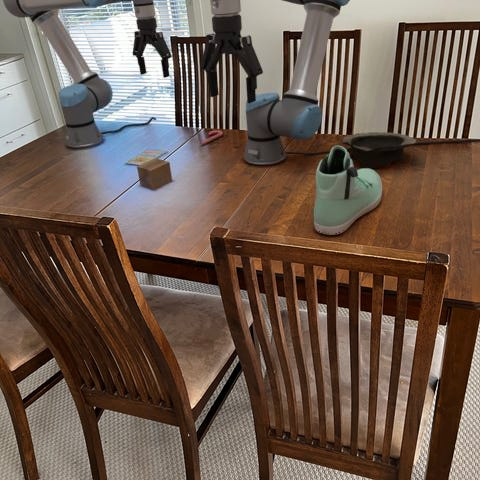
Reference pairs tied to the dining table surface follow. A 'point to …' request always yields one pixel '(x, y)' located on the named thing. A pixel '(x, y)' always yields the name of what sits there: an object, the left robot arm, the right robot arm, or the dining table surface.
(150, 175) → the block
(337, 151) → the sneaker
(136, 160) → the baking ingredient package
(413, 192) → the dining table surface
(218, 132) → the candy cane
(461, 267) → the dining table surface
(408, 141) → the black hat
